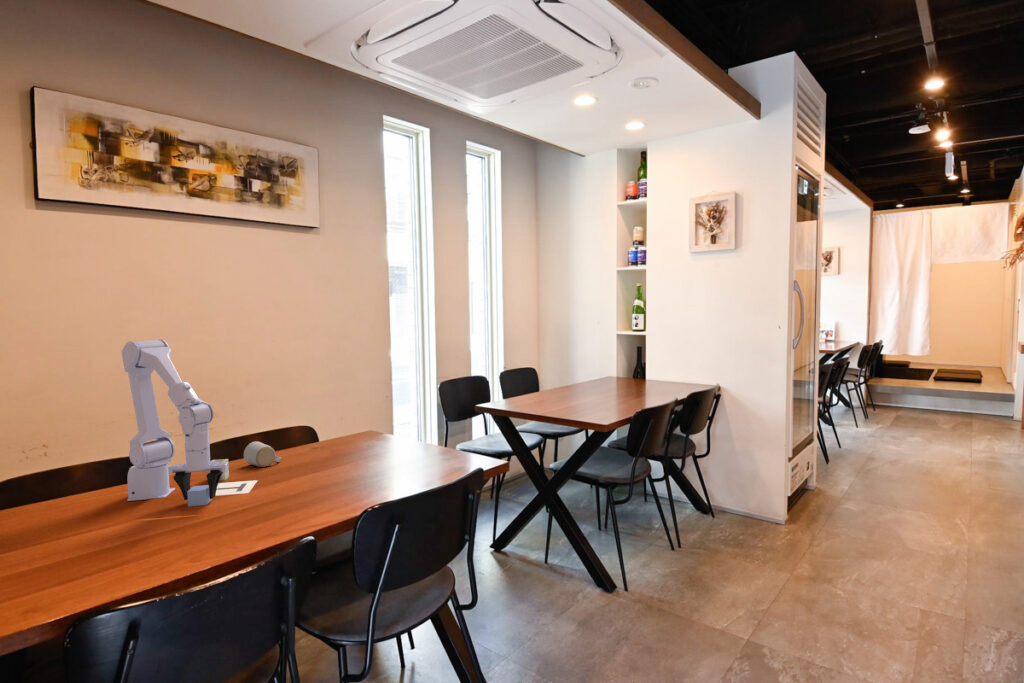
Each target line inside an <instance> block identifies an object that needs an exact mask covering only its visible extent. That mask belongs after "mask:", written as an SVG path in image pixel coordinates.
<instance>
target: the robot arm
mask: <svg viewBox="0 0 1024 683" xmlns="http://www.w3.org/2000/svg"><path fill="white" fill-rule="evenodd" d="M171 356H172V350H171V348H170V346H169V344H168V343H167V341H166V340H164V339H155V340H154V339H153V340H152V339H151V340H138V341H132V340H130V341H127V342H126V343H125V345H124V346H123V348H122V349H121V358H122V362H123V363H122V364H123V367H124V371H125V372H126V373H127V375H128V381H129V386H130V387H129V388H130V391H131V398H132V403H133V410H134V414H135V418H136V419H135V420H136V426H137V430H138V432H137V434H136V435H134V437H132V438H131V440H129V451H128V452H129V453H128V454H129V460H130V463H131V464H132V465H133V466H130V467H129V469H128V471H127V480H126V481H127V495H128V498H127V499H126V500H127V502H130V501H143V500H144V501H145V500H149V499H161V498H162V499H163V498H167V497H168V496H169V495H170V494H171V493H172V492H173V491H174V490H176V487H170V475H172V474H174V475H173V476H172V478H173V480H174V481H175V482H176V484H177V486H178V487H179V490H180V491H181V495H182V497H183V499H184V501H188V495H187V491H188V490H190V489H191V479H192V478H191V477H192V473H204V472H205V473H207V474H206V476H205V477H206V480H207V485H209V498H210V499H212V500H213V499H214V498H215V497H216V496H215V495H216V490H217V486H218V483H220V481H219V480H220V478H221V475H222V473H223V472H225V471H227V470H228V463H229V462H228V463H219V462H211V451H210V450H211V449H210V447H211V446H210V426H209V425H210V423H211V422H212V421H213V419H214V410H213V408H212V406H211V404H210V403H208V402H206V401H204V400H203V399H200V398H199V396H198V395H197V393H196V392H195V389H193V387H192V386H191V384H190V383H189V382H187V381H183V380H182V379H181V377H180V374H179V373H178V370H177V369H176V366H174V363H173V362H172V360H171ZM154 371H155V372H156V373H157V375H158V376H159V377H160V379H161V380H162V381H163V382H164V383H165V385H166V386H167V387H168V390H167V396H168V397H169V399H170V400H171V402H172V403H173V405H174V406H175V408H176V409H177V411H178V412H179V414H178V417H177V418H178V422H179V424H180V426H181V432H182V434H184V447H185V449H184V450H185V463H180V464H179V463H178V464H171V465H169V463H170V462H172V461H171V460H172V458H173V457H174V456H175V453H176V447H175V446H176V445H175V443H174V441H173V440H172V437H171V434H170V432H169V431H166V430H164V429H162V428H161V424H160V419H159V413H158V409H157V408H158V407H157V401H156V397H155V396H156V395H155V392H154V385H153V380H152V373H153V372H154ZM209 472H210V473H209Z"/></svg>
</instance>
